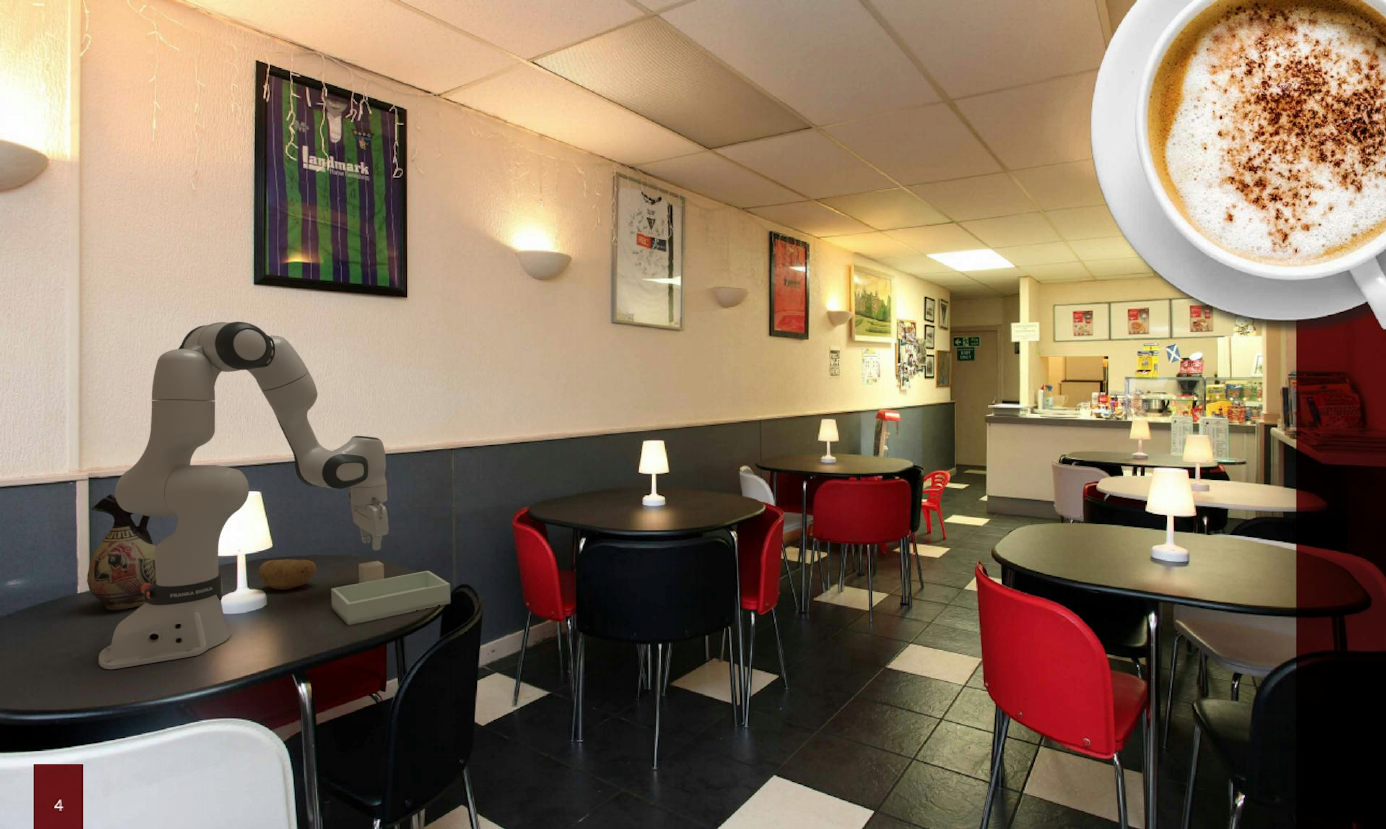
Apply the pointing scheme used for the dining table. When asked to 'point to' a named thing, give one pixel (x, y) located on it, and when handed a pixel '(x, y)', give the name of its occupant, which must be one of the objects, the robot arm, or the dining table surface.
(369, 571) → the carton
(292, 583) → the potato
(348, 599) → the tote
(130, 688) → the dining table surface
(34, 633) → the dining table surface
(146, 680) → the dining table surface
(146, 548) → the ceramic jug
